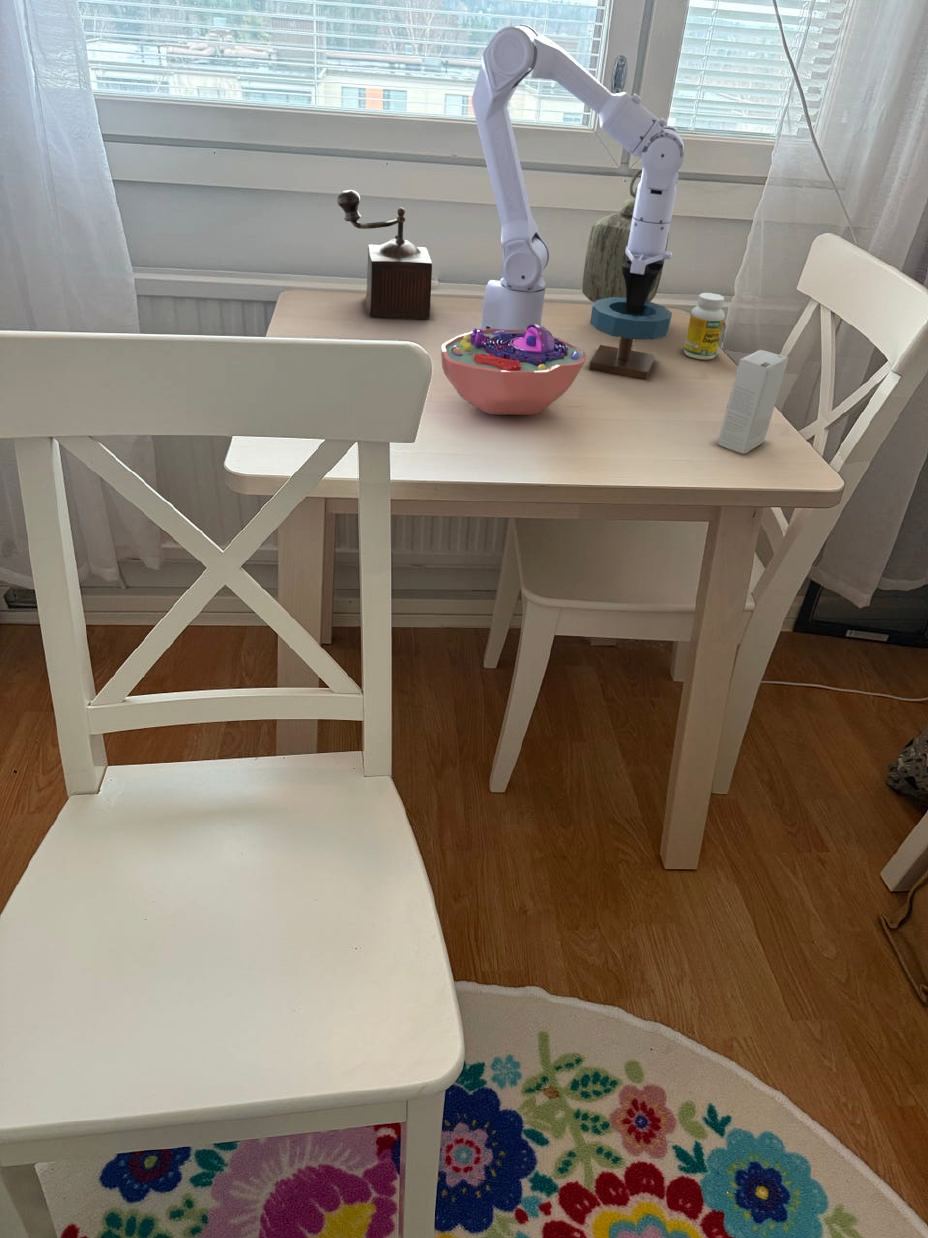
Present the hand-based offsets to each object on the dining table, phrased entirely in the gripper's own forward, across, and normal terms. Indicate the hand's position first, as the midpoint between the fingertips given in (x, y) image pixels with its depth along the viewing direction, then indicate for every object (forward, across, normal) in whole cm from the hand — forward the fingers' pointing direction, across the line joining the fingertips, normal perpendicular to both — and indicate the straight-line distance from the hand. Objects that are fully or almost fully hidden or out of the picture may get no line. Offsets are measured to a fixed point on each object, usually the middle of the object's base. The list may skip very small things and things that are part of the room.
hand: (635, 310), depth 152 cm
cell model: (+8, -31, +12) cm, 34 cm away
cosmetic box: (+8, -28, -20) cm, 35 cm away
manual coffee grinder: (+8, +2, +43) cm, 44 cm away
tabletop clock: (+8, +17, +5) cm, 20 cm away
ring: (+1, -5, 0) cm, 5 cm away
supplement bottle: (+8, +7, -11) cm, 15 cm away
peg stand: (+7, -5, 0) cm, 9 cm away
